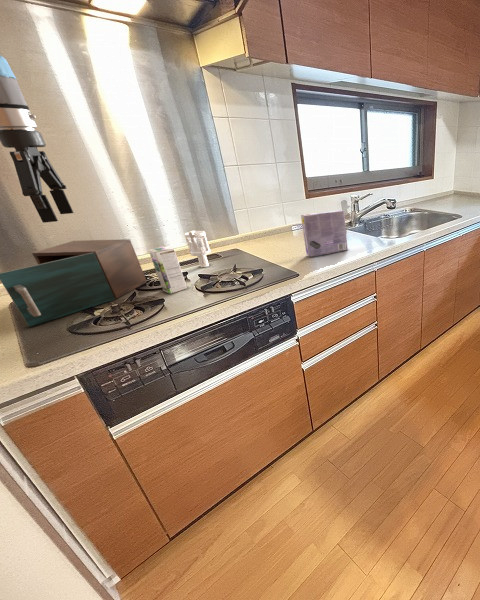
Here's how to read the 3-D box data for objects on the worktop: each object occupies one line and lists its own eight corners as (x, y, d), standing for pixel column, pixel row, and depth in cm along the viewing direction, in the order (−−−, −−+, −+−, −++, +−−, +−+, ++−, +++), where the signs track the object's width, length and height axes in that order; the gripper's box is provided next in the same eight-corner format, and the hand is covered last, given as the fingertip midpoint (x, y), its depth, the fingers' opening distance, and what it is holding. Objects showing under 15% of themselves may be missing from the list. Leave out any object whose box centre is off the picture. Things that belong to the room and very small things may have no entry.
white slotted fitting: (192, 269, 129) (179, 232, 123) (199, 264, 135) (187, 228, 129) (210, 268, 130) (199, 231, 124) (216, 262, 136) (206, 227, 130)
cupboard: (116, 298, 106) (95, 251, 99) (57, 299, 106) (31, 253, 99) (147, 282, 118) (130, 239, 111) (94, 283, 119) (73, 240, 112)
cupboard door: (122, 302, 102) (101, 255, 96) (35, 331, 87) (2, 277, 80) (113, 298, 105) (92, 252, 98) (28, 326, 90) (-4, 273, 83)
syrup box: (162, 290, 111) (146, 249, 104) (180, 284, 115) (166, 245, 109) (169, 294, 108) (154, 252, 101) (188, 288, 112) (174, 247, 106)
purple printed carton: (346, 247, 151) (341, 208, 144) (350, 249, 147) (346, 210, 140) (306, 255, 142) (299, 214, 134) (309, 258, 138) (303, 216, 130)
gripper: (16, 126, 71) (62, 223, 80) (55, 131, 90) (89, 209, 100) (-34, 126, 67) (20, 228, 77) (18, 132, 87) (56, 212, 96)
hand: (59, 217), depth 88 cm, fingers open, 13 cm apart
